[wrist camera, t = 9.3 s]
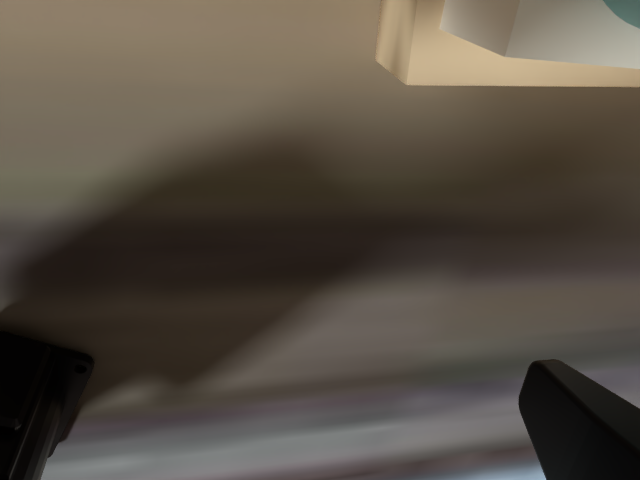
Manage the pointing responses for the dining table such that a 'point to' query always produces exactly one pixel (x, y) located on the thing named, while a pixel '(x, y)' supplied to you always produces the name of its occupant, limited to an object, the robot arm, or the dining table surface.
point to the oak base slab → (470, 56)
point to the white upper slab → (546, 30)
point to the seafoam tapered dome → (626, 10)
